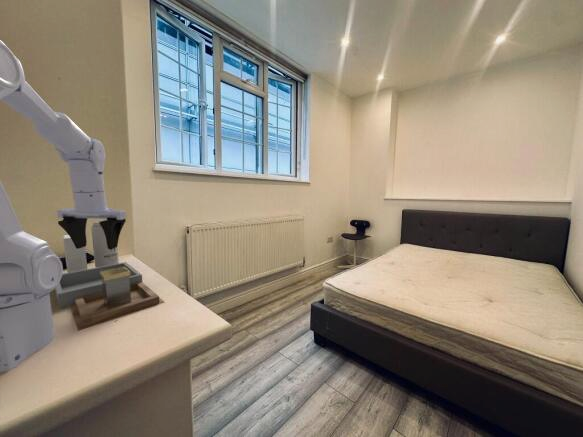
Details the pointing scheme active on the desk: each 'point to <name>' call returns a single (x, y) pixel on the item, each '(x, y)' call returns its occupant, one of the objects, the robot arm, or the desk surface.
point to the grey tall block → (116, 287)
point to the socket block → (95, 311)
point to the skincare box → (74, 256)
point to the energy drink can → (102, 247)
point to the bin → (87, 283)
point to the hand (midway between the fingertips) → (97, 247)
